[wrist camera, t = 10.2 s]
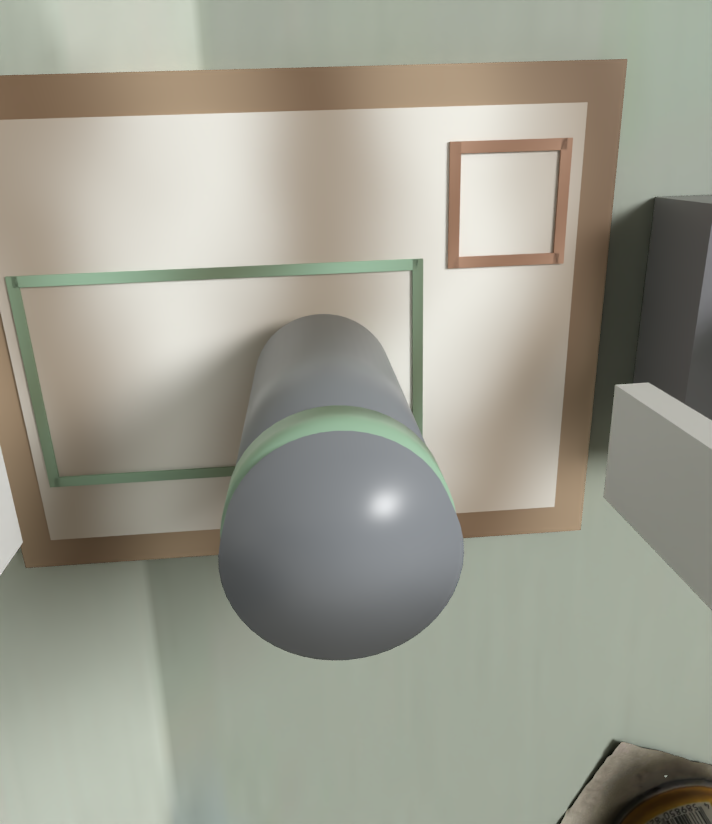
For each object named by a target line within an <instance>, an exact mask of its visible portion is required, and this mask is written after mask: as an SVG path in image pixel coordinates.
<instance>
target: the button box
mask: <svg viewBox="0 0 712 824" xmlns="http://www.w3.org/2000/svg"><path fill="white" fill-rule="evenodd" d="M634 383H650V384H652V385H654V386H655V387H657V388H659V389H660V390H662V391H664V392H665V393H667V394H669V395H670V396H672V397H674V398H675V399H677V400H679V401H680V402H682V403H684V404H685V405H687V406H689V407H690V408H692V409H694V410H695V411H697V412H699V413H700V414H702V415H704V416H705V417H707V418H708V419H710V420H712V195H693V196H667V197H655V203H654V211H653V220H652V228H651V236H650V245H649V253H648V261H647V270H646V278H645V286H644V295H643V303H642V311H641V320H640V328H639V336H638V345H637V353H636V361H635V370H634V378H633V384H634Z"/></svg>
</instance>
